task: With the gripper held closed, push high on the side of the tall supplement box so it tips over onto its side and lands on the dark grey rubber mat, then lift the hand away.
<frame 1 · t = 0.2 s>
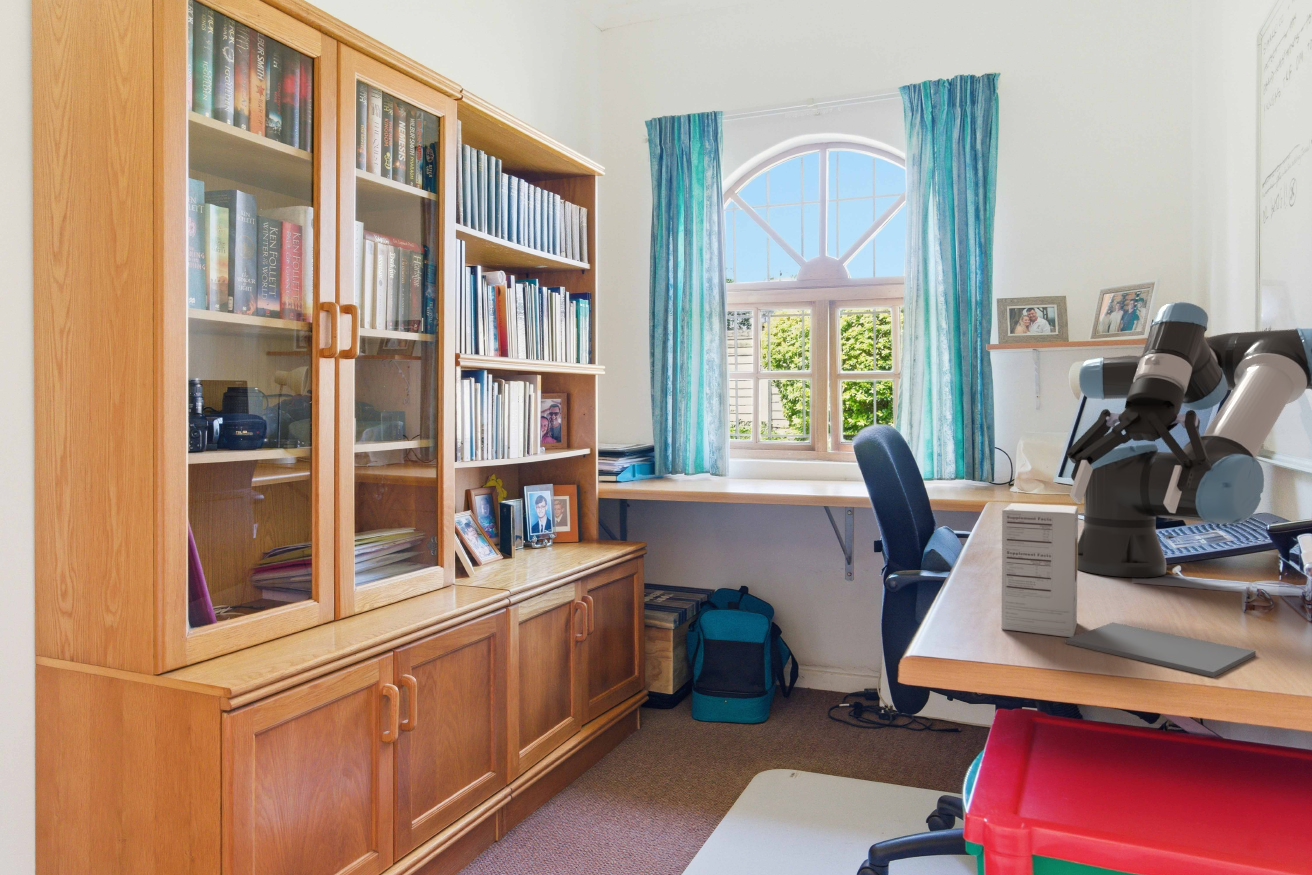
hand: (1120, 503, 126), 16 cm above the table, fingers open, 13 cm apart
supplement box: (1039, 627, 117), on the table
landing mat: (1157, 649, 106), on the table
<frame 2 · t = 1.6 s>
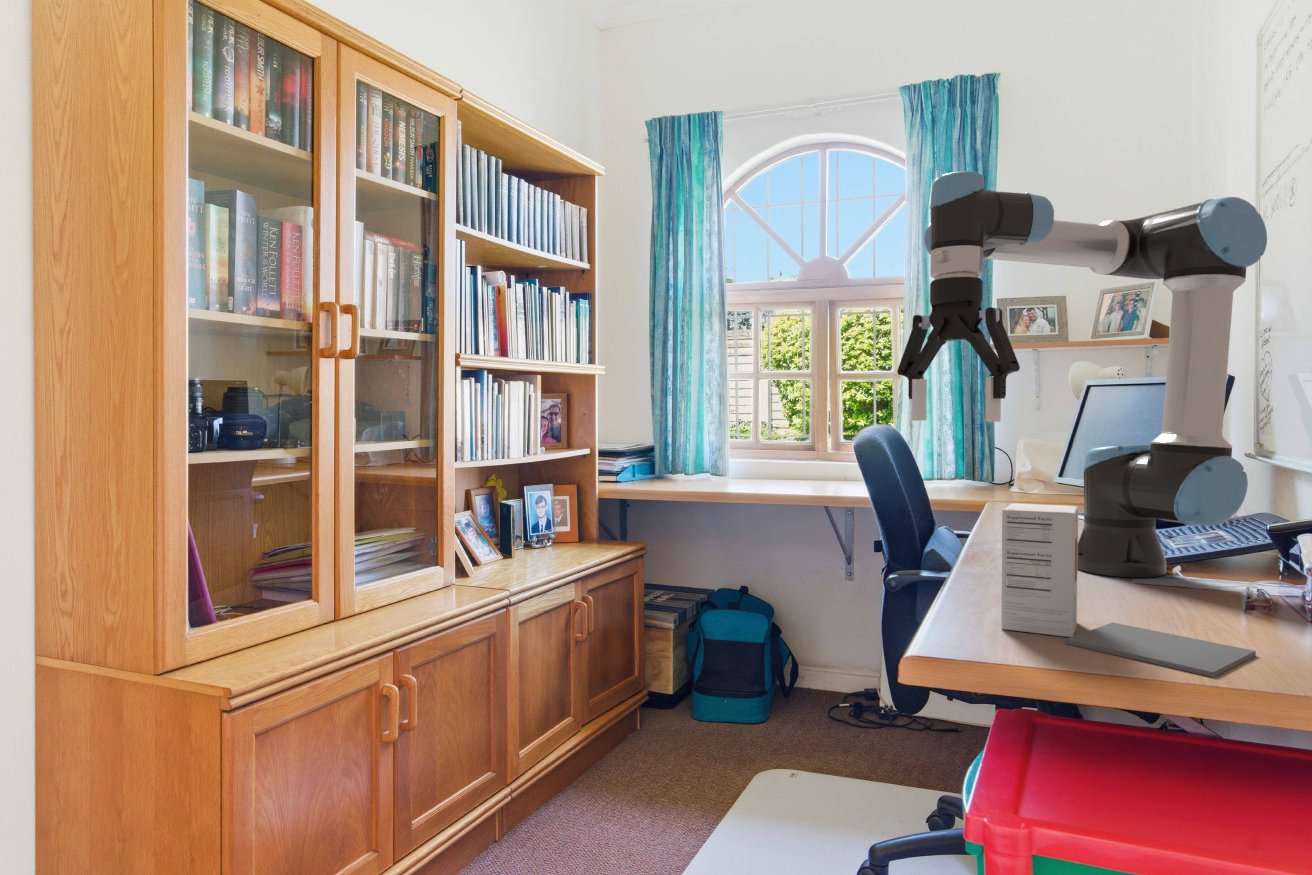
hand: (954, 421, 127), 29 cm above the table, fingers open, 12 cm apart
nothing on the table moved.
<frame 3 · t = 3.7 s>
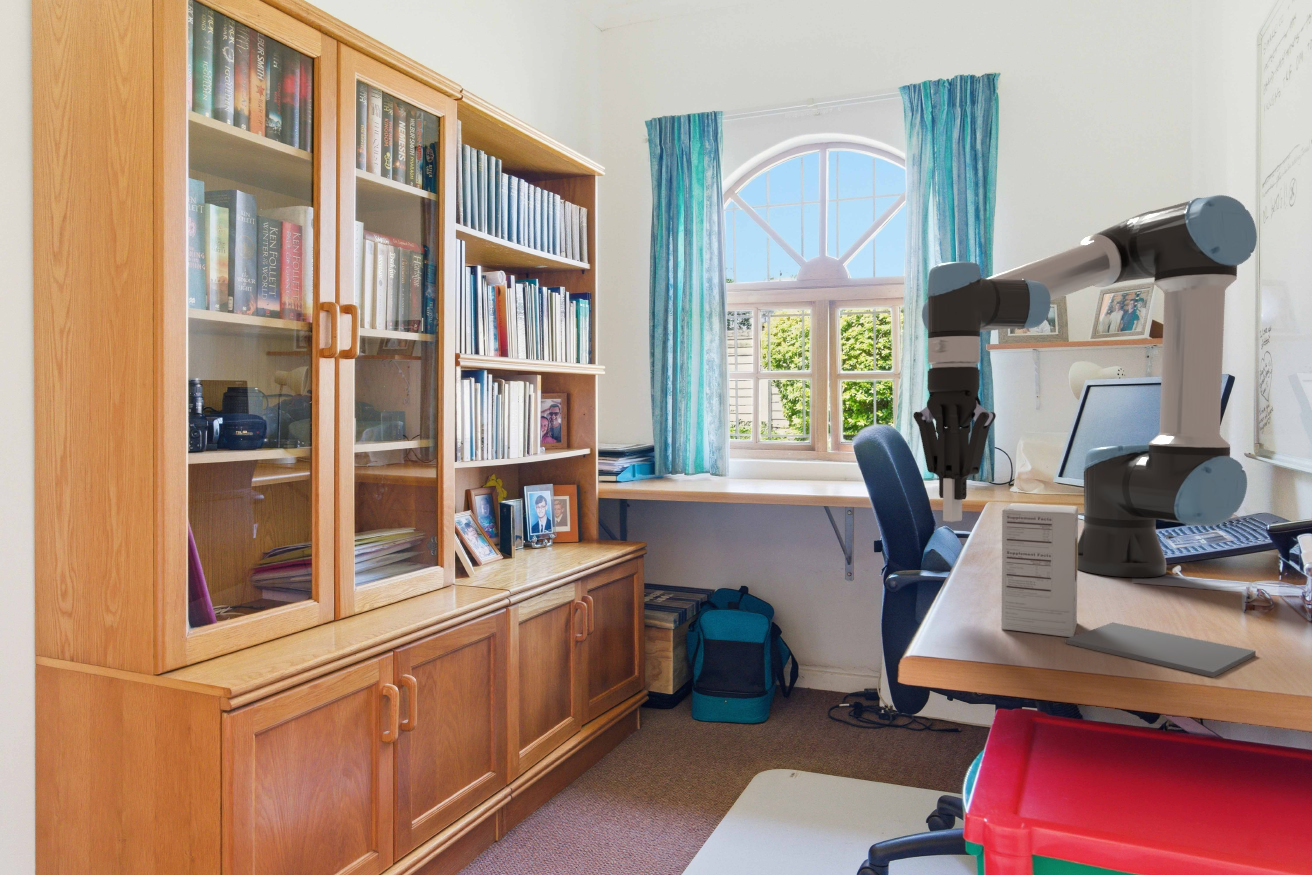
hand: (952, 520, 128), 13 cm above the table, fingers closed
nothing on the table moved.
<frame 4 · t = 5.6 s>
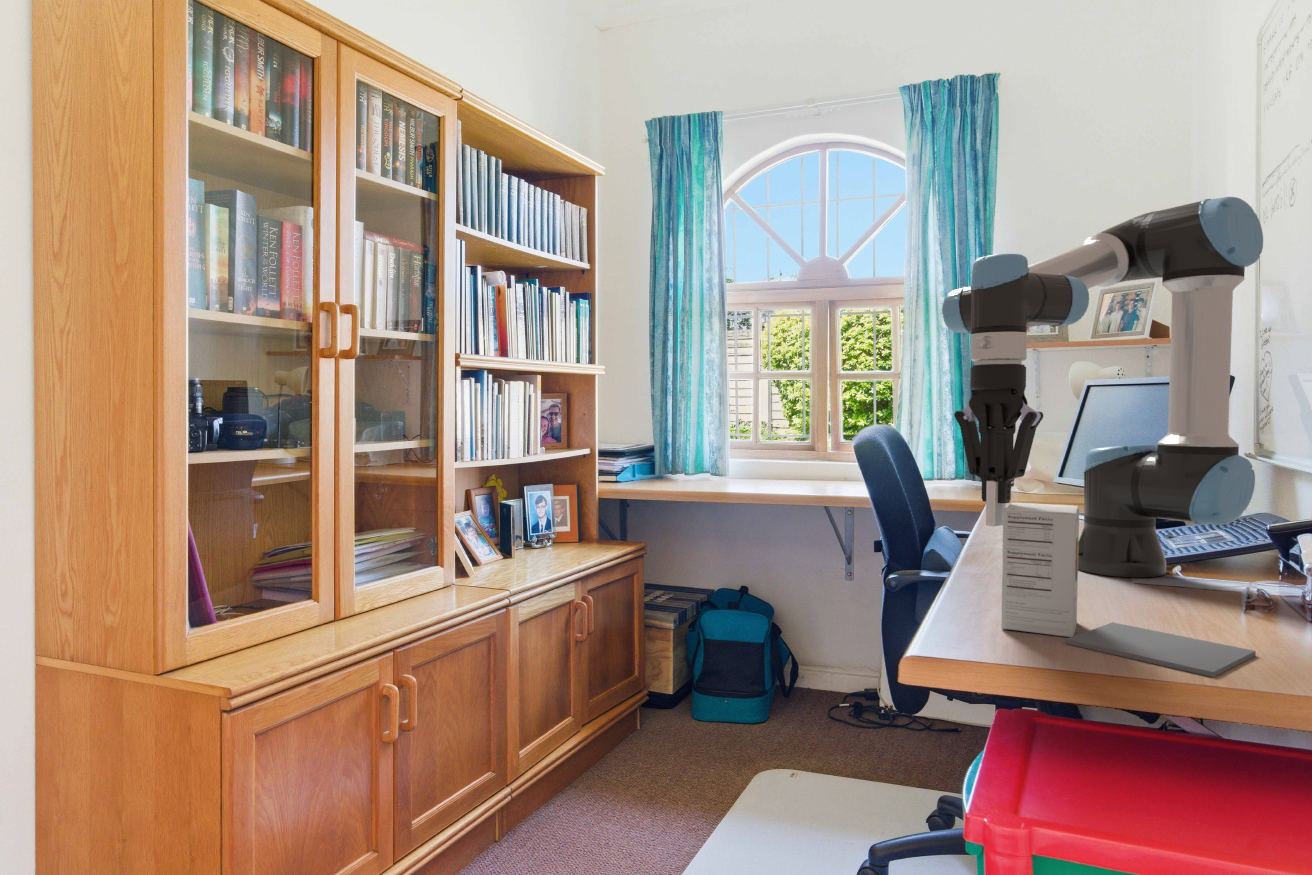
hand: (995, 524, 122), 14 cm above the table, fingers closed
supplement box: (1039, 626, 117), on the table, touching gripper
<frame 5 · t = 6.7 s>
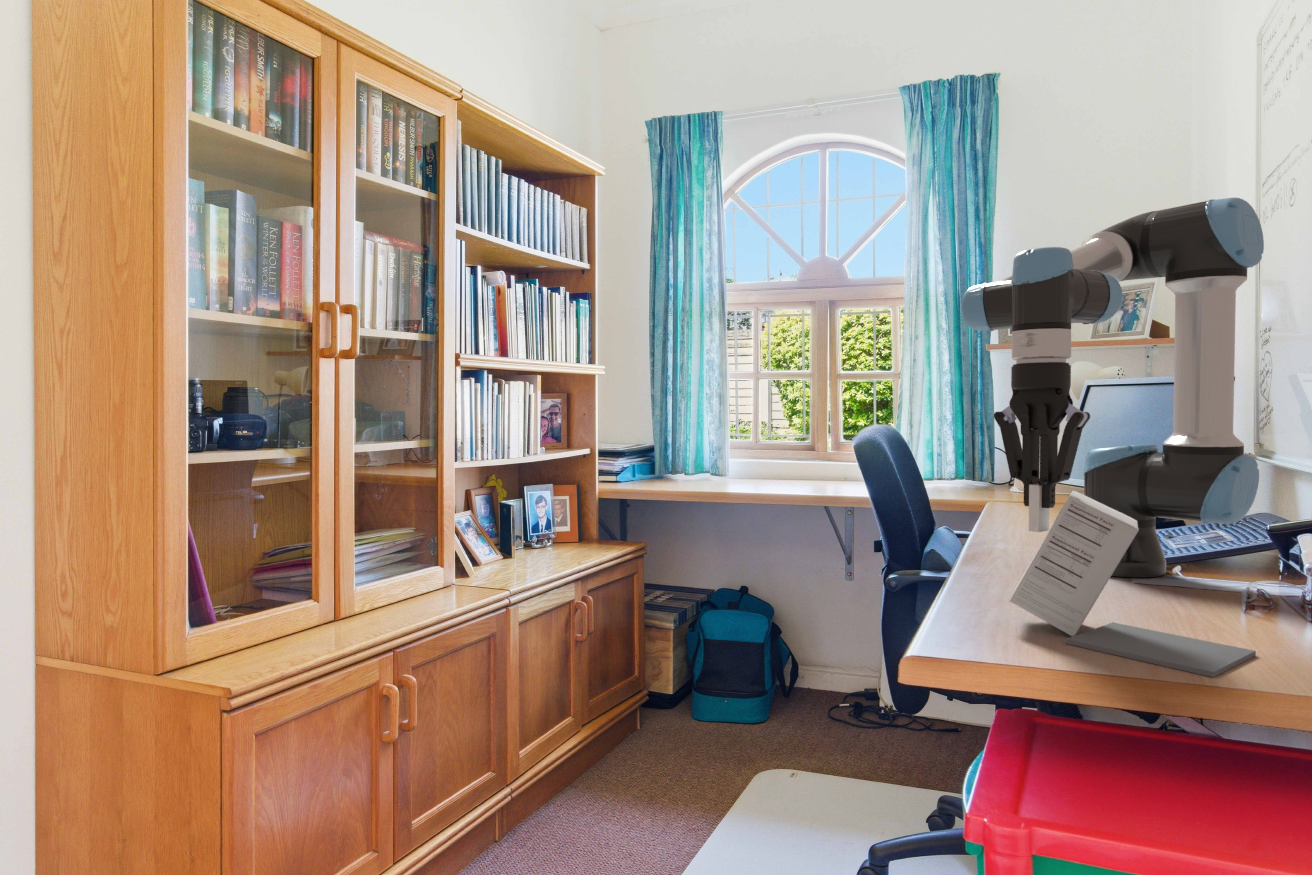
hand: (1038, 530, 117), 13 cm above the table, fingers closed
supplement box: (1042, 613, 117), point 2 cm above the table
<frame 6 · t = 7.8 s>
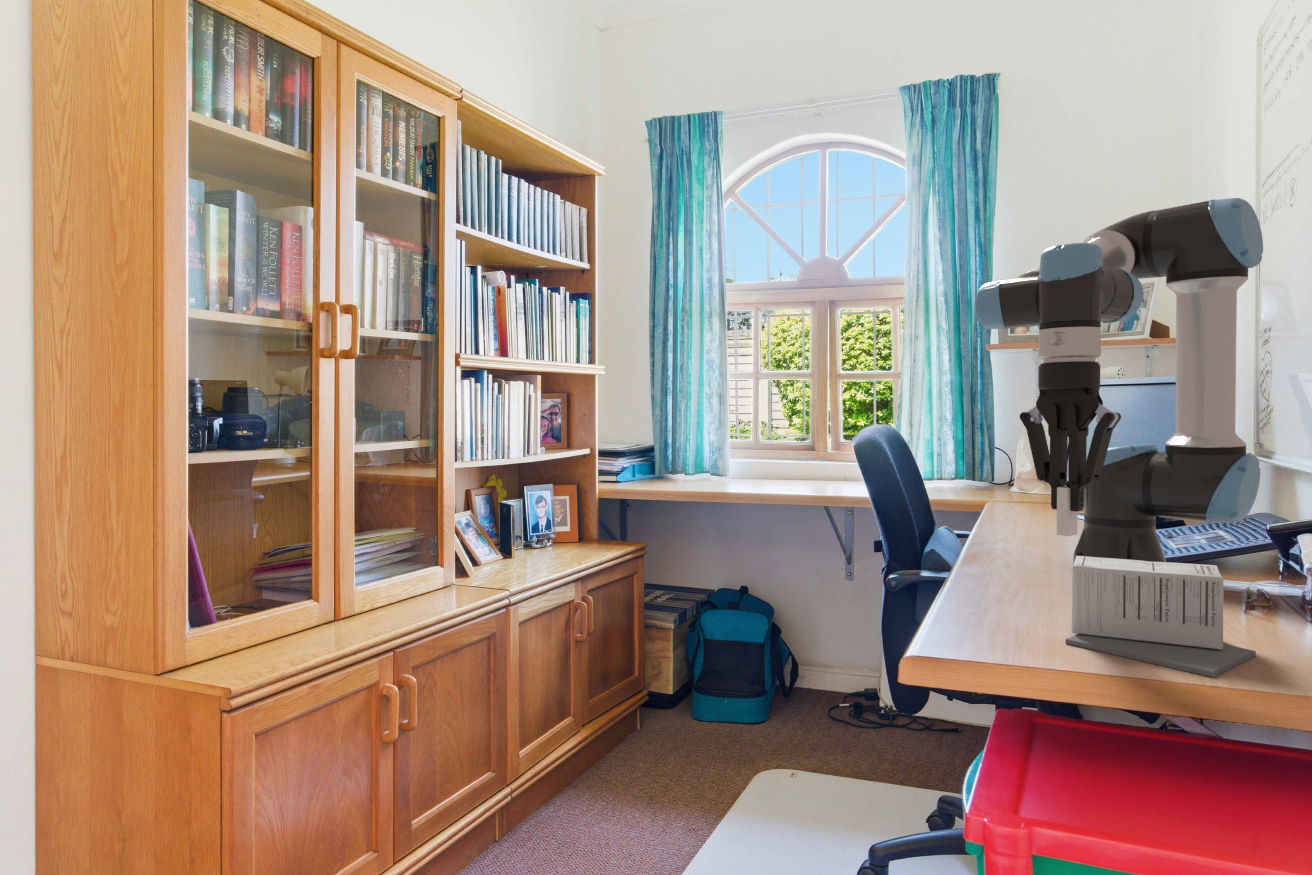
hand: (1067, 534, 114), 13 cm above the table, fingers closed
supplement box: (1072, 592, 115), point 5 cm above the table, touching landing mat
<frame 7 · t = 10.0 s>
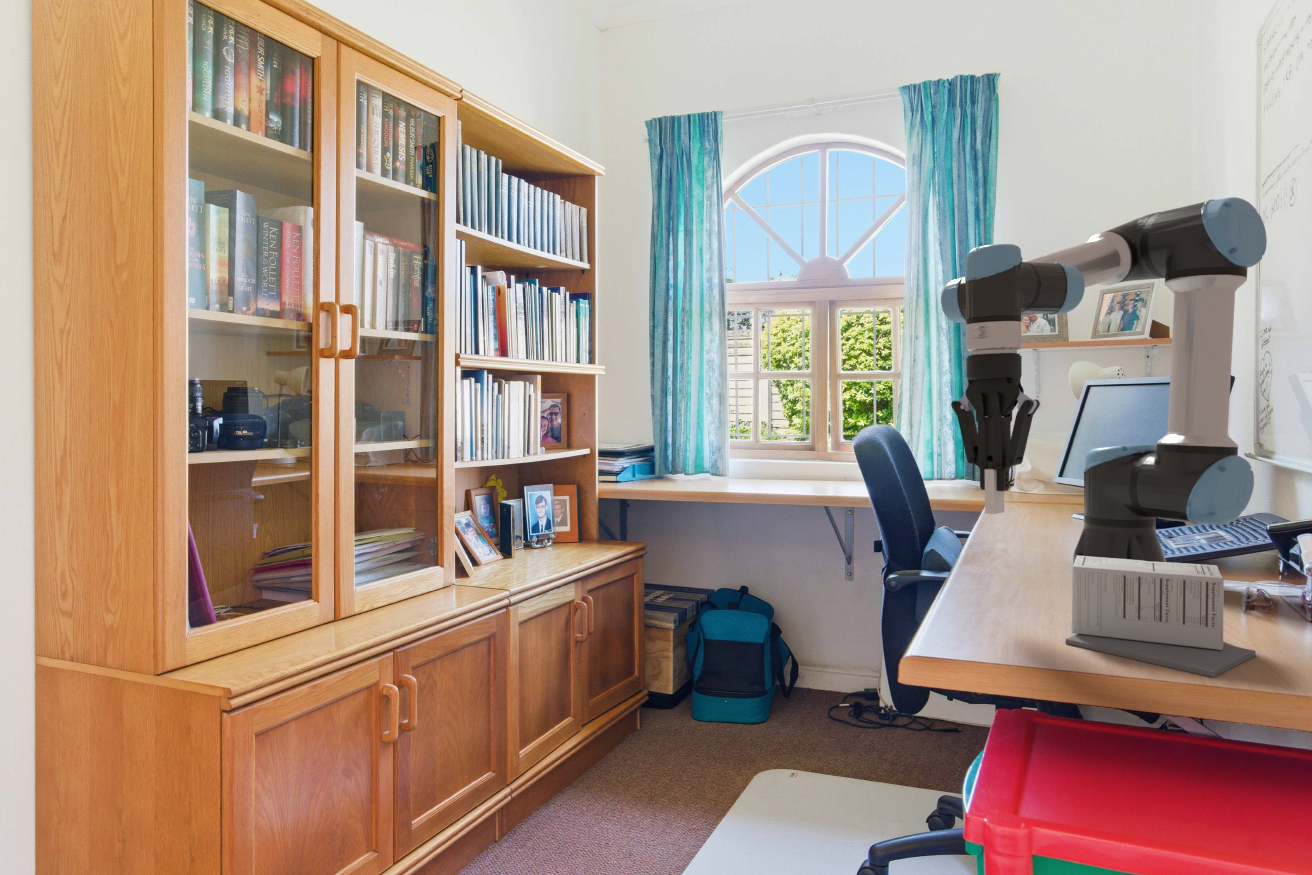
hand: (994, 512, 123), 15 cm above the table, fingers closed
nothing on the table moved.
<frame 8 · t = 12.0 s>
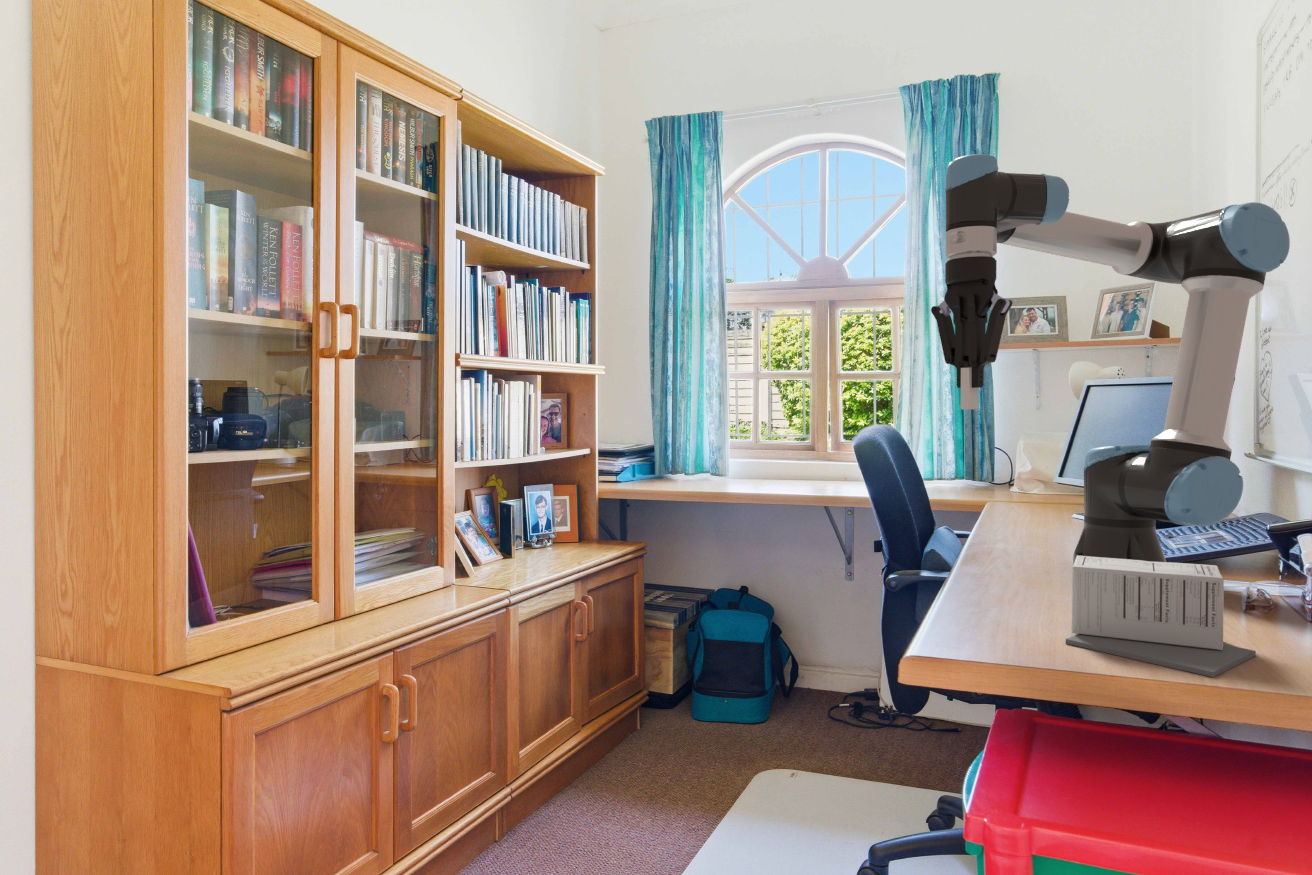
hand: (969, 409, 131), 30 cm above the table, fingers closed
nothing on the table moved.
at the end: supplement box tilted 90°; supplement box touching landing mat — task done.
